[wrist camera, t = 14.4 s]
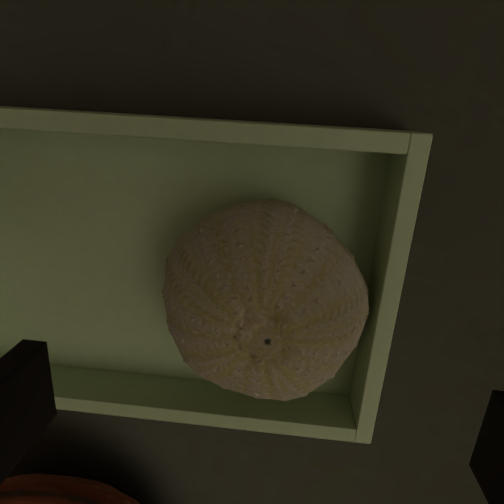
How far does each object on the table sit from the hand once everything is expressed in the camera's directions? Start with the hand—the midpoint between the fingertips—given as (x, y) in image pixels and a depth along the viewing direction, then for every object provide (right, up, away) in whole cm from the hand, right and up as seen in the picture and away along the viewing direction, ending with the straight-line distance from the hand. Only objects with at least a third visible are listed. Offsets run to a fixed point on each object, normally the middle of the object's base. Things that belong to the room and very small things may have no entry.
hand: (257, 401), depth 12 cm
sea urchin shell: (0, +3, +8) cm, 9 cm away
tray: (-4, +4, +9) cm, 10 cm away
